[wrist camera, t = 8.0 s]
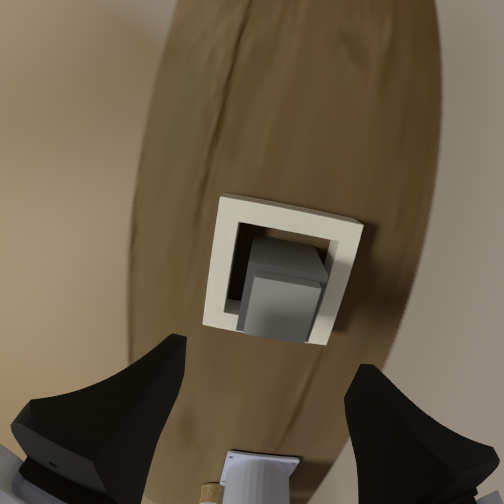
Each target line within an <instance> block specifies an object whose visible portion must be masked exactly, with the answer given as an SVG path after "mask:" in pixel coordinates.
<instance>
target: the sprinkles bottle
mask: <svg viewBox="0 0 504 504" xmlns="http://www.w3.org/2000/svg"><path fill="white" fill-rule="evenodd" d="M224 489H225V486H222V485H220V483H207V484H204V485H202V487H201V490H202V492H201V497H200V502H199V504H222V503H223V496H224Z"/></svg>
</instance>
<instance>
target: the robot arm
mask: <svg viewBox="0 0 504 504" xmlns="http://www.w3.org/2000/svg"><path fill="white" fill-rule="evenodd" d="M186 342H187V337H185V336H181V335H177V334H173V333H172V334H170V335H169V336H168V337H167V338H165V339H164V340H163V341H162V342H161V343H160V344H158V345H157V346H156V347H155V348H153V349H152V350H151V351H150V352H148V353H147V354H146V355H144V356H143V357H142V358H140V359H139V360H137V361H136V362H134V363H133V364H131V365H130V366H128V367H127V368H125V369H124V370H122V371H120V372H119V373H117V374H115V375H113V376H111V377H110V378H107V379H105V380H103V381H101V382H99V383H96V384H94V385H91V386H89V387H86V388H83V389H80V390H77V391H74V392H70V393H66V394H62V395H58V396H54V397H47V398H40V399H33V400H30V401H29V402H28V403H27V404H26V406H25V407H24V408H23V409H22V410H21V412H20V413H19V415H18V416H17V417H16V418H15V420H14V421H13V422H12V424H11V430H12V433H13V435H14V437H15V439H16V440H17V442H18V443H19V444H20V446H21V448H22V449H23V451H24V452H25V454H26V455H27V458H26V460H25V461H24V462H23V461H22V460H21V459H20V458H19V457H18V456H16V455H15V454H14V453H12V452H11V451H9V450H8V449H7V448H5V447H4V446H3V445H1V444H0V504H141V500H142V496H143V492H144V488H145V484H146V480H147V476H148V473H149V469H150V465H151V462H152V458H153V455H154V452H155V448H156V445H157V442H158V439H159V437H160V434H161V432H162V430H163V428H164V425H165V423H166V421H167V419H168V416H169V414H170V412H171V410H172V407H173V405H174V403H175V401H176V398H177V396H178V393H179V390H180V387H181V383H182V380H183V377H184V370H185V355H186ZM344 403H345V414H346V420H347V425H348V429H349V433H350V437H351V441H352V446H353V450H354V454H355V458H356V465H357V475H358V497H359V504H504V503H503V501H502V499H501V496H500V494H499V492H498V491H494V492H492V493H490V494H488V495H486V496H484V497H482V498H480V499H478V500H477V501H475V498H474V496H476V495H477V494H478V491H477V489H476V487H477V486H478V485H479V484H481V483H482V482H483V481H484V480H485V479H486V478H487V477H488V476H489V475H490V474H491V473H492V472H493V471H494V470H495V469H496V468H497V467H498V465H499V462H500V460H499V458H498V455H497V454H496V452H495V450H494V448H493V447H491V446H488V445H484V444H481V443H478V442H475V441H473V440H470V439H468V438H466V437H463V436H461V435H459V434H457V433H455V432H453V431H452V430H450V429H448V428H447V427H445V426H443V425H441V424H440V423H438V422H437V421H435V420H434V419H433V418H431V417H430V416H429V415H427V414H426V413H425V412H423V411H422V410H421V409H420V408H418V407H417V406H416V405H415V404H414V403H413V402H412V401H411V400H409V399H408V398H407V397H406V396H405V395H404V394H403V393H402V392H401V391H400V390H399V389H398V388H397V387H396V386H395V385H394V384H393V383H392V382H391V381H390V380H389V379H388V378H387V377H386V376H385V375H384V374H383V373H382V372H381V371H380V370H379V369H378V368H377V367H375V366H374V365H371V364H360V366H359V368H358V371H357V373H356V375H355V377H354V379H353V381H352V383H351V385H350V387H349V389H348V391H347V393H346V395H345V397H344ZM299 461H300V460H299V458H298V457H285V456H272V455H263V454H254V453H246V452H239V451H232V450H231V451H228V453H227V457H226V461H225V465H224V468H223V472H222V476H221V480H220V485H222V486H225V489H224V496H223V503H222V504H290V503H289V477H290V476H291V474H292V473H293V471H294V469H295V468H296V466H297V465H298V463H299Z"/></svg>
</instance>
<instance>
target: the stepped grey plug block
mask: <svg viewBox="0 0 504 504" xmlns="http://www.w3.org/2000/svg"><path fill="white" fill-rule="evenodd" d="M327 280H328V274H327V272H326V270H325V268H324V266H323V264H322V262H321V260H320V257H319V255H318V253H317V251H316V249H315V247H314V246H311V245H305V244H300V243H295V242H290V241H285V240H280V239H275V238H269V237H264V236H259V235H254V237H253V242H252V247H251V252H250V257H249V263H248V268H247V273H246V279H245V284H244V289H243V295H242V300H241V305H240V311H239V316H238V321H237V327H236V330H237V331H243V334H248V335H253V336H259V337H265V338H271V339H277V340H284V341H290V342H297V343H305V342H308V341H309V338H310V335H311V332H312V329H313V325H314V322H315V319H316V316H317V313H318V310H319V307H320V303H321V300H322V297H323V293H324V290H325V287H326V283H327Z"/></svg>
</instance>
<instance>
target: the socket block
mask: <svg viewBox="0 0 504 504" xmlns="http://www.w3.org/2000/svg"><path fill="white" fill-rule="evenodd" d="M240 222H243V223H248V224H254V225H259V226H264V227H270V228H275V229H280V230H285V231H291V232H296V233H301V234H306V235H311V236H316V237H321V238H326V239H330V244H329V248H328V252H327V256H326V259H325V263H324V268H325V270H326V272H327V274H328V280H327V283H326V287H325V290H324V293H323V297H322V300H321V303H320V307H319V310H318V313H317V316H316V319H315V322H314V325H313V329H312V332H311V335H310V338H309V341H308V342H306V343H313V344H321V345H326V344H327V341H328V339H329V336H330V333H331V330H332V327H333V325H334V322H335V319H336V316H337V313H338V310H339V307H340V304H341V301H342V298H343V295H344V292H345V289H346V285H347V282H348V279H349V276H350V272H351V269H352V266H353V262H354V259H355V255H356V252H357V248H358V244H359V241H360V237H361V233H362V229H363V226H364V225H362V224H361V223H360V222H358V221H357V220H356V219H354V218H349V217H345V216H341V215H336V214H332V213H327V212H323V211H318V210H313V209H309V208H304V207H299V206H294V205H289V204H284V203H279V202H274V201H269V200H263V199H258V198H252V197H247V196H241V195H236V194H230V193H224V194H223V195H222V196H220V202H219V208H218V214H217V221H216V228H215V234H214V241H213V248H212V255H211V262H210V270H209V277H208V285H207V293H206V301H205V309H204V317H203V325H207V326H212V327H217V328H222V329H227V330H232V331H237V330H236V327H237V321H238V316H239V311H240V305H241V301H237V300H232V299H227V298H228V292H229V286H230V280H231V274H232V268H233V262H234V256H235V250H236V244H237V238H238V232H239V226H240ZM238 332H243V331H238Z"/></svg>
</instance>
